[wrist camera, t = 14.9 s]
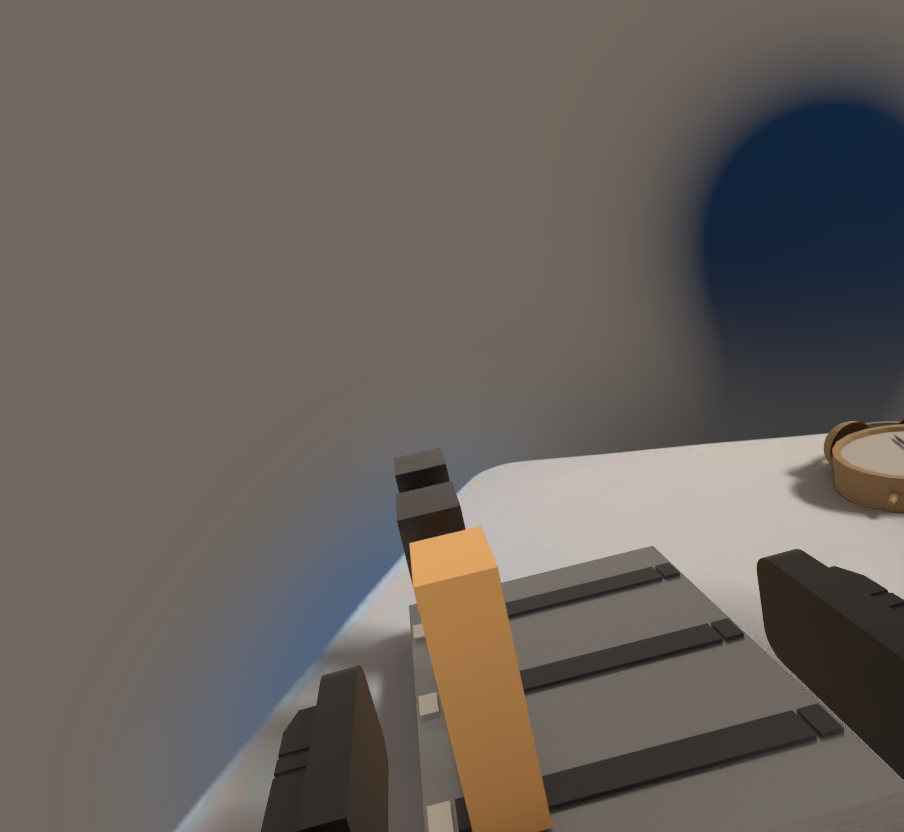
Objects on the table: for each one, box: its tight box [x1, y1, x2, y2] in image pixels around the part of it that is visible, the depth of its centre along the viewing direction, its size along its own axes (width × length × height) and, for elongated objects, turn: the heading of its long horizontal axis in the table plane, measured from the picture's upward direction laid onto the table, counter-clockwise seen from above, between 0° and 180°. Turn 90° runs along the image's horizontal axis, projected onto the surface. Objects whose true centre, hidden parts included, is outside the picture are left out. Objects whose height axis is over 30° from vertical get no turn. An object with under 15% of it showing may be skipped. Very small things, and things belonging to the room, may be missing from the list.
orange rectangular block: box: [409, 526, 553, 832], centre depth 25 cm, size 3×4×11 cm
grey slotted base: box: [394, 448, 904, 832], centre depth 33 cm, size 18×23×14 cm
